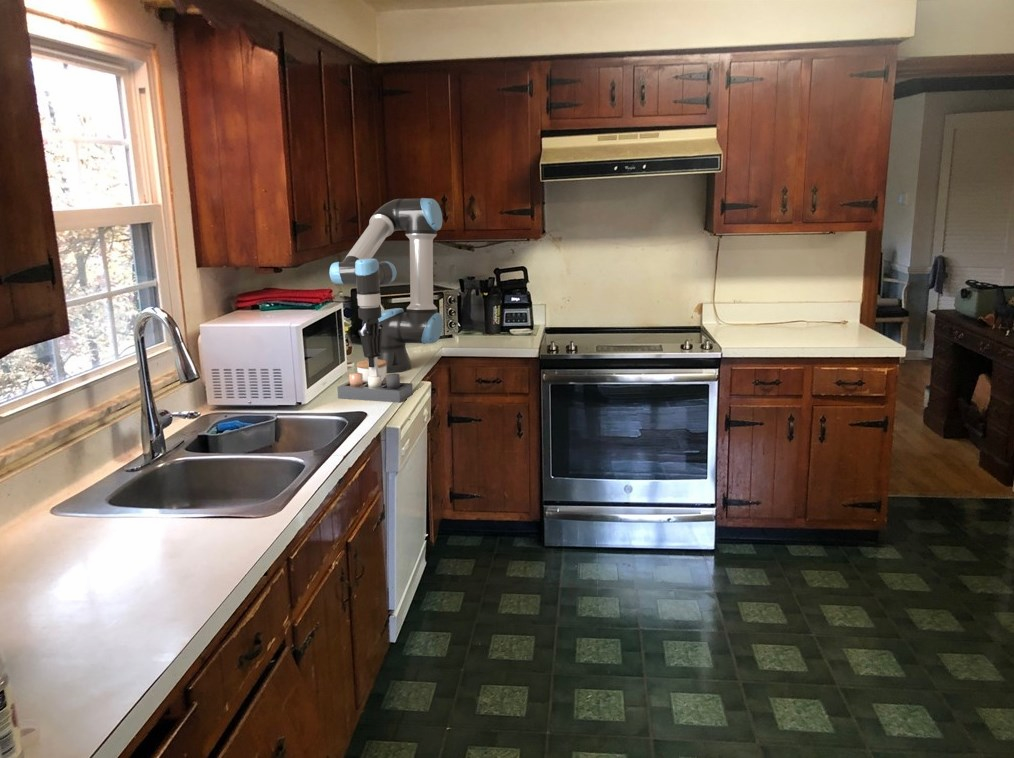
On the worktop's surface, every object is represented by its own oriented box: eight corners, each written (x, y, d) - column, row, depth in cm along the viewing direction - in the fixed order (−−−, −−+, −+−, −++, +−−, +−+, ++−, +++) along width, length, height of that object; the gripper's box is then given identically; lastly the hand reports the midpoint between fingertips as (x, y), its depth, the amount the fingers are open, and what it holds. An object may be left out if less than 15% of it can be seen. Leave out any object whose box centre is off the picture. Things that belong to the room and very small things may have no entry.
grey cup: (390, 387, 268) (389, 373, 267) (402, 388, 266) (401, 374, 265) (384, 390, 264) (383, 376, 263) (396, 391, 262) (395, 377, 261)
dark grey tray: (352, 391, 276) (352, 379, 275) (412, 394, 269) (412, 383, 268) (338, 398, 267) (337, 386, 266) (399, 402, 260) (399, 390, 259)
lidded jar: (361, 388, 280) (359, 362, 278) (355, 381, 290) (353, 356, 287) (391, 384, 284) (389, 359, 282) (384, 378, 294) (382, 353, 291)
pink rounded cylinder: (354, 386, 272) (353, 372, 271) (365, 387, 271) (364, 373, 270) (347, 389, 268) (346, 375, 267) (359, 390, 267) (358, 376, 266)
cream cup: (372, 389, 270) (371, 374, 269) (384, 389, 269) (383, 375, 268) (366, 392, 266) (365, 377, 265) (378, 392, 265) (377, 378, 264)
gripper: (368, 303, 268) (373, 371, 273) (349, 308, 256) (354, 379, 261) (388, 303, 265) (392, 372, 271) (370, 309, 253) (374, 381, 259)
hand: (374, 375), depth 266 cm, fingers closed
